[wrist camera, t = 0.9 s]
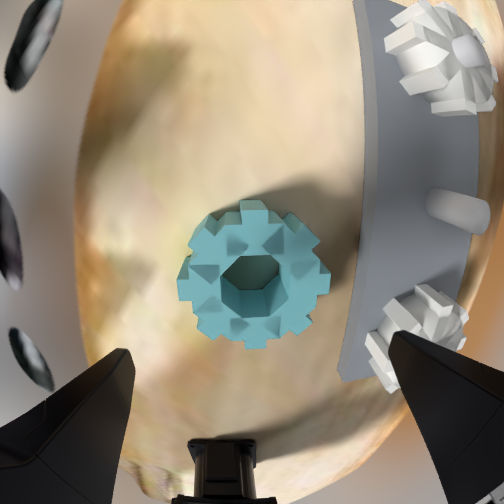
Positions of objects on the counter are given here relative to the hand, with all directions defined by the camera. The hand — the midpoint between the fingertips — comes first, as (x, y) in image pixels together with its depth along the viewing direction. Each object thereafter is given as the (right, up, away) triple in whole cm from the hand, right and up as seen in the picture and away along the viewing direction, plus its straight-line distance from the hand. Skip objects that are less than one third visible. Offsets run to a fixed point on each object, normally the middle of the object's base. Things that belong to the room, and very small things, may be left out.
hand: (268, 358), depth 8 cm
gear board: (+10, +7, +7) cm, 14 cm away
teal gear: (-1, +3, +7) cm, 8 cm away
